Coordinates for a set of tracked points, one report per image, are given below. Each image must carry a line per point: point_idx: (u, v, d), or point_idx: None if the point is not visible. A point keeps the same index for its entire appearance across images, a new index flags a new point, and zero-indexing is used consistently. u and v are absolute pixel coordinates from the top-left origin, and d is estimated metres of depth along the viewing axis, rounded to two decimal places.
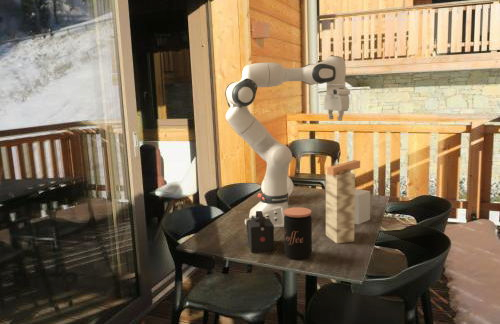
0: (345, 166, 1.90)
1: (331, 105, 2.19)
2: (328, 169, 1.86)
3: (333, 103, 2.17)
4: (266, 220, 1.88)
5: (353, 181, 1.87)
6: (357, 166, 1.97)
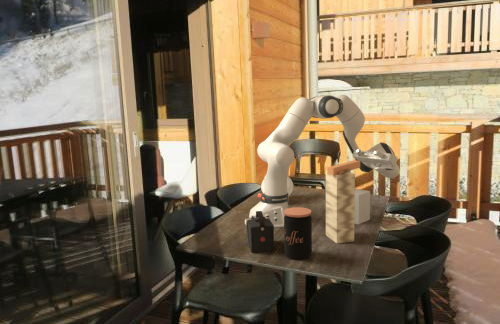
0: (345, 166, 1.90)
1: None
2: (328, 169, 1.86)
3: None
4: (266, 220, 1.88)
5: (353, 181, 1.87)
6: (357, 166, 1.97)
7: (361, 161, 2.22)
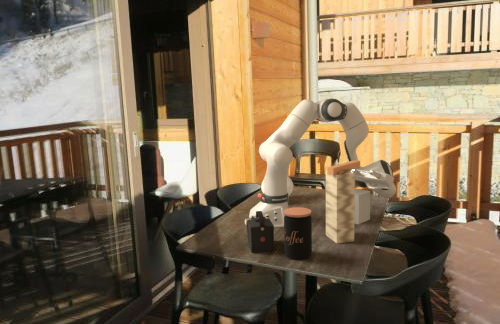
0: (345, 166, 1.90)
1: None
2: (328, 169, 1.86)
3: None
4: (266, 220, 1.88)
5: (353, 181, 1.87)
6: (357, 166, 1.97)
7: (356, 180, 2.16)
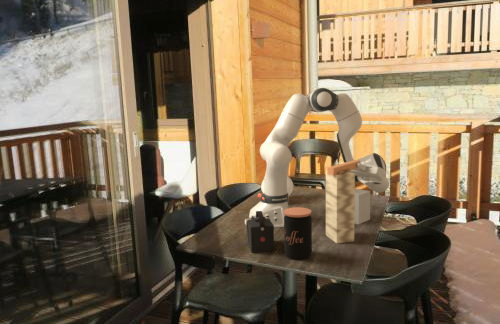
0: (345, 166, 1.90)
1: None
2: (328, 169, 1.86)
3: None
4: (266, 220, 1.88)
5: (353, 181, 1.87)
6: None
7: None
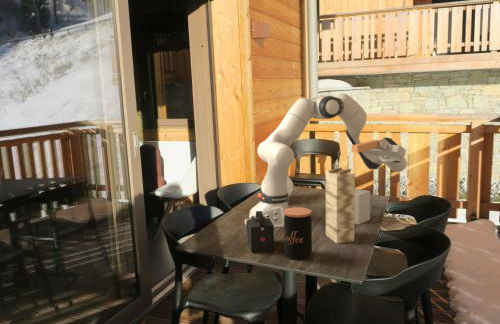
0: (368, 144, 2.02)
1: None
2: (352, 147, 1.97)
3: None
4: (266, 220, 1.88)
5: (353, 181, 1.87)
6: None
7: (369, 154, 2.21)
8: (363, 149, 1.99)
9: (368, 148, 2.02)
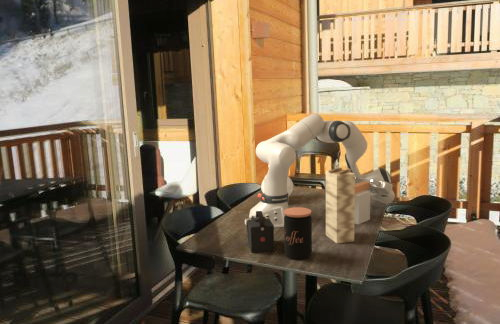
0: (356, 187, 2.15)
1: None
2: None
3: None
4: (266, 220, 1.88)
5: (353, 181, 1.87)
6: (367, 187, 2.22)
7: None
8: None
9: (356, 191, 2.15)
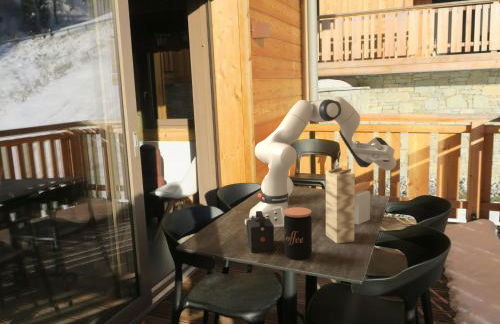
0: (356, 187, 2.15)
1: None
2: None
3: None
4: (266, 220, 1.88)
5: (353, 181, 1.87)
6: (367, 187, 2.22)
7: (360, 153, 2.32)
8: None
9: (356, 191, 2.15)
